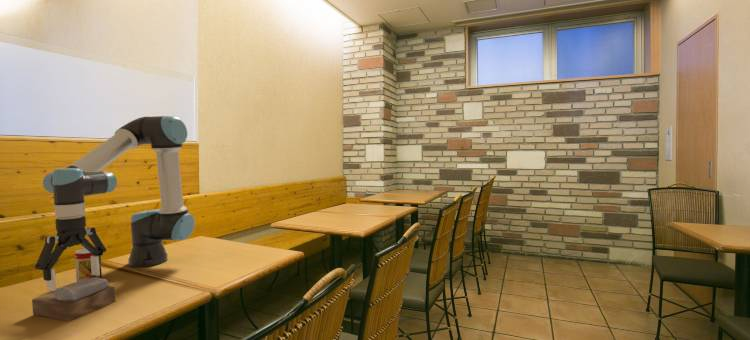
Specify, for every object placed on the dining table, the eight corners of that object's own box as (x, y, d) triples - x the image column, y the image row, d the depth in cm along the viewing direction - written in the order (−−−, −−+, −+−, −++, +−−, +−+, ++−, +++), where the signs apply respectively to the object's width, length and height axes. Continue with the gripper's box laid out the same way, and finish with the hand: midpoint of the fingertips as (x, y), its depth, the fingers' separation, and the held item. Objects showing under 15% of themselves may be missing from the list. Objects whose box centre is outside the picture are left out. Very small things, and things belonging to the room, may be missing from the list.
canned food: (104, 280, 148) (102, 250, 147) (78, 285, 142) (76, 254, 142) (99, 275, 154) (97, 246, 153) (75, 280, 148) (73, 250, 147)
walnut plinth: (82, 296, 132) (81, 282, 132) (115, 301, 128) (114, 286, 128) (33, 315, 118) (32, 299, 118) (68, 321, 114) (67, 304, 113)
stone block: (50, 305, 117) (75, 301, 115) (48, 289, 117) (72, 285, 115) (88, 292, 129) (111, 288, 126) (85, 278, 129) (108, 274, 126)
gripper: (99, 209, 134) (103, 268, 135) (15, 224, 110) (21, 295, 112) (116, 210, 132) (119, 270, 133) (34, 225, 108) (39, 298, 109)
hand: (74, 282), depth 122 cm, fingers open, 13 cm apart
